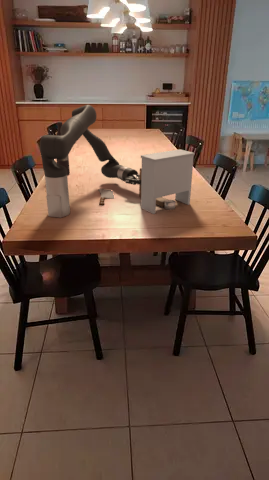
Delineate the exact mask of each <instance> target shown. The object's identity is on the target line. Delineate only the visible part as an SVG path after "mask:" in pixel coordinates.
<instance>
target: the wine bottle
mask: <svg viewBox="0 0 269 480" xmlns="http://www.w3.org/2000/svg"><path fill="white" fill-rule="evenodd" d="M56 125H57V133H56V136H61V133H60V130H61V126H62V125H63V121H57V122H56ZM56 162H57V163H58V164H60V165H62V166H64V167H65V168H66V169H67V176H68V175H70V174H71V173H70V172H71V170H70V159H69V155H68V156H67V157H66V158H64V159H56Z"/></svg>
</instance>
